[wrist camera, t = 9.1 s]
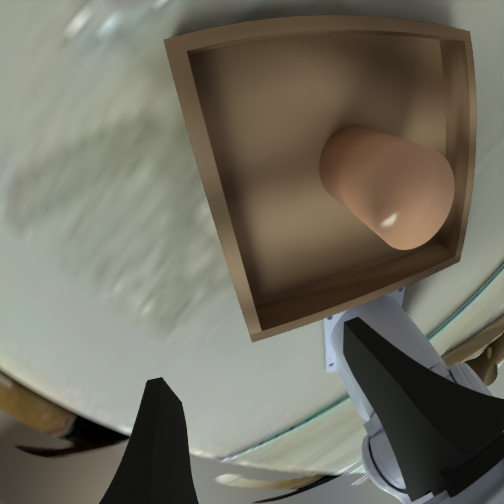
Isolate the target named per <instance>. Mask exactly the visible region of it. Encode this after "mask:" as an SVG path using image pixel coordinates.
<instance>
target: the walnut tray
mask: <svg viewBox="0 0 504 504" xmlns="http://www.w3.org/2000/svg"><path fill="white" fill-rule="evenodd" d="M164 44H165V48H166V52H167V55H168V59H169V63H170V67H171V71H172V75H173V79H174V82H175V86H176V90H177V94H178V97H179V101H180V105H181V108H182V112H183V116H184V119H185V123H186V127H187V130H188V134H189V137H190V141H191V144H192V148H193V152H194V155H195V159H196V162H197V166H198V169H199V172H200V176H201V179H202V183H203V186H204V190H205V193H206V196H207V200H208V203H209V207H210V210H211V213H212V217H213V220H214V223H215V227H216V230H217V233H218V236H219V240H220V243H221V246H222V249H223V253H224V256H225V259H226V262H227V266H228V269H229V272H230V275H231V278H232V281H233V285H234V288H235V291H236V294H237V297H238V300H239V303H240V306H241V310H242V313H243V316H244V319H245V322H246V325H247V328H248V331H249V334H250V337H251V340H252V342H255V341H259V340H262V339H265V338H268V337H271V336H274V335H278V334H281V333H284V332H287V331H290V330H293V329H296V328H299V327H302V326H304V325H307V324H310V323H313V322H316V321H319V320H322V319H324V318H327V317H330V316H333V315H335V314H338V313H341V312H343V311H346V310H349V309H351V308H354V307H356V306H359V305H361V304H364V303H367V302H369V301H372V300H374V299H377V298H379V297H381V296H384V295H386V294H389V293H391V292H393V291H396V290H398V289H401V288H403V287H405V286H407V285H410V284H412V283H414V282H417V281H419V280H421V279H423V278H426V277H428V276H430V275H432V274H434V273H436V272H439V271H441V270H443V269H445V268H447V267H449V266H451V265H453V264H455V263H458V262H460V258H461V253H462V249H463V244H464V239H465V234H466V228H467V222H468V216H469V210H470V203H471V195H472V187H473V178H474V167H475V152H476V84H475V70H474V60H473V51H472V43H471V36H470V31H466V30H462V29H458V28H453V27H449V26H444V25H439V24H433V23H428V22H421V21H415V20H407V19H399V18H390V17H378V16H362V15H308V16H291V17H279V18H269V19H261V20H253V21H246V22H240V23H234V24H228V25H223V26H218V27H213V28H208V29H203V30H199V31H195V32H191V33H187V34H183V35H179V36H175V37H171V38H168V39H164ZM352 125H363V126H367V127H370V128H373V129H376V130H379V131H383V132H386V133H389V134H392V135H394V136H397V137H400V138H403V139H406V140H409V141H411V142H414V143H417V144H419V145H422V146H425V147H427V148H430V149H432V150H435V151H437V152H439V153H440V154H442V155H443V156H444V157H445V158H446V159H447V161H448V162H449V164H450V166H451V168H452V171H453V175H454V184H455V189H454V198H453V202H452V206H451V209H450V212H449V214H448V216H447V218H446V220H445V222H444V223H443V225H442V226H441V228H440V229H439V230H438V232H437V233H436V234H435V235H434V236H433V237H432V238H431V239H430V240H428V241H427V242H426V243H424V244H422V245H421V246H419V247H416V248H413V249H409V250H400V249H396V248H393V247H391V246H390V245H389V244H387V243H386V242H385V241H384V240H383V239H382V238H381V237H379V236H378V235H377V234H376V233H375V232H374V231H373V230H371V229H370V228H369V227H368V226H367V225H366V224H364V223H363V222H362V221H361V220H360V219H359V218H357V217H356V216H355V215H354V214H353V213H351V212H350V211H349V210H348V209H347V208H345V207H344V206H343V205H342V204H340V203H339V202H338V201H337V200H335V199H334V198H333V197H332V196H331V195H329V193H328V192H327V191H326V190H325V188H324V186H323V184H322V182H321V179H320V173H319V163H320V157H321V154H322V151H323V149H324V147H325V145H326V143H327V142H328V140H329V139H330V138H331V137H332V136H333V135H334V134H335V133H336V132H338V131H339V130H341V129H343V128H345V127H348V126H352Z"/></svg>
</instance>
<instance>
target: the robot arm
mask: <svg viewBox="0 0 504 504" xmlns="http://www.w3.org/2000/svg"><path fill="white" fill-rule="evenodd" d="M404 291H405V287H403V288H401V289H398V290H396V291H393V292H391V293H389V294H386V295H384V296H381V297H379V298H377V299H374V300H372V301H369V302H367V303H364V304H361V305H359V306H356V307H354V308H351V309H349V310H346V311H343V312H341V313H338V314H335V315H333V316H330V317H327V318H324V319H323V326H324V345H325V369H326V371H327V373H331V372H334V371H336V370H337V372H338V374H339V376H340V378H341V380H342V382H343V384H344V386H345V388H346V390H347V392H348V394H349V396H350V398H351V400H352V402H353V404H354V406H355V408H356V410H357V411H358V413H359V414H360V416H361V417H362V418H363V419H365V420H366V421H368V422H366V423H365V424H364V427H365V429H366V431H367V433H368V434H367V435H366V436H365V437H364V439H363V443H362V460H363V464H364V467H365V470H366V472H367V474H368V475H369V477H370V478H371V480H372V481H373V482H374V483H375V484H376V485H377V486H378V487H379V488H380V489H382V490H384V491H386V492H388V493H390V494H392V495H393V496H395V497H396V498H397V499H399V500H400V501H401V502H402V503H403V504H504V399H500V398H496V397H493V395H492V394H491V393H490V391H489V390H488V388H487V387H486V386H485V384H484V383H483V382H482V380H481V379H480V378H479V377H478V375H477V374H476V373H475V372H474V371H473V370H472V369H471V367H470V366H469V365H467V364H466V363H460V364H459V363H458V362H456V363H454V364H453V365H452V366H451V367H449V366H448V365H446V363H445V362H444V361H443V359H442V358H441V357H440V355H439V354H438V353H437V351H436V350H435V349H434V347H433V346H432V345H431V343H430V342H429V341H428V340H427V338H426V337H425V336H424V335H423V333H422V332H421V331H420V329H419V328H418V327H417V326H416V324H415V323H414V322H413V321H412V319H411V318H410V317H409V316H408V315H407V313H406V312H405V311H404V310H403V308H402V303H403V297H404ZM99 504H199V503H198V500H197V496H196V492H195V488H194V484H193V479H192V473H191V466H190V456H189V446H188V436H187V426H186V421H185V416H184V411H183V406H182V402H181V401H180V400H179V398H178V397H177V396H176V395H175V393H174V392H173V391H172V390H171V388H170V387H169V386H168V385H167V383H166V382H165V381H164V379H163V378H162V377H160V378H156V379H151V380H148V381H147V382H146V386H145V390H144V393H143V397H142V400H141V404H140V407H139V411H138V414H137V417H136V421H135V424H134V427H133V430H132V433H131V436H130V439H129V442H128V445H127V447H126V450H125V453H124V456H123V458H122V460H121V463H120V465H119V467H118V469H117V472H116V474H115V476H114V478H113V480H112V482H111V484H110V486H109V488H108V489H107V491H106V493H105V495H104V497H103V498H102V500H101V501H100V503H99Z"/></svg>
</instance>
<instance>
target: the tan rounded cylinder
mask: <svg viewBox="0 0 504 504" xmlns="http://www.w3.org/2000/svg"><path fill="white" fill-rule="evenodd" d="M319 173H320V179H321V182H322V184H323V186H324V188H325V190H326V191H327V192H328V193H329V195H331V196H332V197H333V198H334V199H335V200H337V201H338V202H339V203H340V204H342V205H343V206H344V207H345V208H347V209H348V210H349V211H350V212H351V213H353V214H354V215H355V216H356V217H357V218H359V219H360V220H361V221H362V222H363V223H364V224H366V225H367V226H368V227H369V228H370V229H371V230H373V231H374V232H375V233H376V234H377V235H378V236H379V237H381V238H382V239H383V240H384V241H385V242H386V243H387V244H389V245H390V246H391V247H393V248H396V249H400V250H409V249H413V248H416V247H419V246H421V245H422V244H424V243H426V242H427V241H428V240H430V239H431V238H432V237H433V236H434V235H435V234H436V233H437V232H438V230H439V229H440V228H441V226H442V225H443V223H444V222H445V220H446V218H447V216H448V214H449V212H450V209H451V206H452V202H453V198H454V189H455V184H454V175H453V171H452V168H451V166H450V164H449V162H448V161H447V159H446V158H445V157H444V156H443V155H442V154H440V153H439V152H437V151H435V150H432V149H430V148H427V147H425V146H422V145H419V144H417V143H414V142H411V141H409V140H406V139H403V138H400V137H397V136H394V135H392V134H389V133H386V132H383V131H379V130H376V129H373V128H370V127H367V126H363V125H352V126H348V127H345V128H343V129H341V130H339V131H338V132H336V133H335V134H334V135H333V136H332V137H331V138H330V139H329V140H328V142H327V143H326V145H325V147H324V149H323V151H322V154H321V157H320V163H319Z"/></svg>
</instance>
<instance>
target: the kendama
mask: <svg viewBox="0 0 504 504" xmlns="http://www.w3.org/2000/svg"><path fill="white" fill-rule="evenodd" d="M503 357H504V333H503V334H502V335H501V336H500V337H498V338H497V339H496V340H495V341H493V342H492V343H491V344H489V346H488V347H487V349H486V350H485V351H484V352H483V353H482V354H481V355H480V356H478V357H477V358H474V359H471V360H468V361H465V362H464V363H466V364H467V365H469V366H470V367H471V369H472V370H473V371H474V372H475V373H476V374H477V375H478V377H479V378H480V379H481V380H482V382H483V383H484V384H485V386H489V385H490V384H492V383H493V382H494V381H495V379H496V377H497V374H498V373H497V364H496V362H497V361H498V360H500V359H501V358H503Z"/></svg>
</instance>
